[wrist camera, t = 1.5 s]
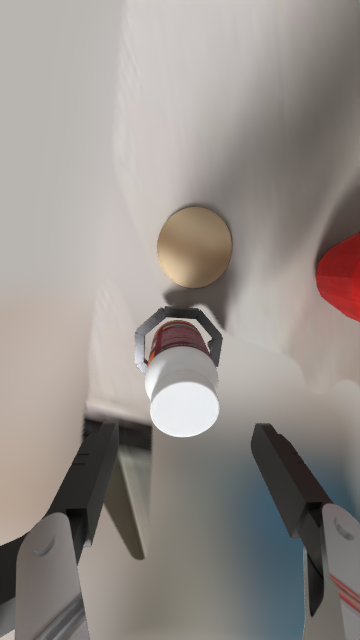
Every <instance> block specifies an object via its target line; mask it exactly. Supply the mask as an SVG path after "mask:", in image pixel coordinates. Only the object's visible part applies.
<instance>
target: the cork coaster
mask: <svg viewBox="0 0 360 640" xmlns="http://www.w3.org/2000/svg"><path fill="white" fill-rule="evenodd" d="M157 253H158V259H159V262H160V265H161V267H162V269H163V271H164V272H165V273H166V275H167V276H168V277H169V278H170V279H171V280H172V281H174V282H175V283H177V284H179V285H181V286H184V287H188V288H200V287H204V286H207V285H209V284H211V283H213V282H214V281H216V280H217V279H218V278H219V277H220V276H221V275H222V274H223V273H224V271H225V269H226V268H227V266H228V264H229V261H230V258H231V253H232V241H231V236H230V232H229V230H228V228H227V226H226V224H225V223H224V221H223V220H222V219H221V218H220V217H219V216H218V215H217V214H215V213H214V212H212V211H210V210H208V209H205V208H201V207H189V208H185V209H182V210H180V211H178V212H176V213H175V214H173V215H172V216H171V217H170V218H169V219H168V220H167V221H166V223H165V224H164V226H163V227H162V229H161V232H160V234H159V238H158V244H157Z"/></svg>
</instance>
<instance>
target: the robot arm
mask: <svg viewBox="0 0 360 640" xmlns="http://www.w3.org/2000/svg"><path fill="white" fill-rule="evenodd" d="M118 445H119V432H118V422H103V424H102V426H101V428H100V430H99V433H91V434H90V435H89V436H88V437H87V438H86V439H85V440H84V441H83V442H82V444H81V446H80V448H79V450H78V452H77V455H76V456H75V458H74V460H73V462H72V465H71V467H70V468H69V470H68V472H67V474H66V476H65V478H64V480H63V482H62V484H61V486H60V489H59V490H58V492H57V494H56V496H55V498H54V500H53V502H52V504H51V506H50V508H49V510H48V511H47V513H46V514H45V516H44V517H43V518H42V519H41V520H40V521H39V522H38V523H37V524H36V525H35V526H34V527H33V528H32V529H31V530H30V531H29V532H28V533H26V534H25V535H23V536H22V537H20V538H18V539H16V540H13V541H11V542H9V543H6V544H4V545H2V546H0V637H2V636H4V635H5V634H7V633H9V632H10V631H12V630H13V629H15V640H90V637H89V631H88V626H87V619H86V613H85V608H84V603H83V598H82V592H81V586H80V581H79V575H78V569H77V565H78V562H79V559H80V556H81V553H82V550H83V548H84V547H91V545H92V542H93V538H94V535H95V531H96V528H97V524H98V520H99V517H100V513H101V509H102V506H103V503H104V499H105V495H106V492H107V488H108V485H109V481H110V478H111V474H112V471H113V467H114V463H115V460H116V456H117V452H118ZM251 450H252V454H253V456H254V459H255V461H256V463H257V465H258V467H259V469H260V472H261V474H262V476H263V478H264V481H265V482H266V485H267V487H268V489H269V491H270V494H271V496H272V498H273V500H274V502H275V505H276V507H277V509H278V511H279V513H280V515H281V518H282V520H283V522H284V524H285V527H286V529H287V531H288V533H289V535H290V537H291V538H301V540H302V542H303V544H304V546H305V547H304V589H305V627H304V632H303V639H302V640H360V524H359V523H358V522H357V521H356V520H355V519H354V517H353V516H351V515H350V514H349V513H348V512H347V511H345V510H344V509H342V508H341V507H339V506H337V505H335V504H334V503H333V502H332V501H331V499H330V498H329V497H328V495H327V494H326V492H325V491H324V490H323V488H322V487H321V485H320V484H319V482H318V481H317V480H316V478H315V477H314V475H313V474H312V473H311V471H310V470H309V468H308V467H307V466H306V464H304V461H303V460H302V458H301V457H300V456H299V455H298V453H297V452H296V450H295V449H294V447H293V446H292V445H291V443H290V442H289V441H288V440H287V439H286V438H285V437H284V436H282V435H281V434H277V432H276V431H275V429H274V428H273V426H272V425H271V424H269V423H267V424H265V423H263V424H262V423H257V424H256V425H255V428H254V433H253V436H252V440H251Z"/></svg>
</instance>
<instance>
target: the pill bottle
mask: <svg viewBox="0 0 360 640" xmlns="http://www.w3.org/2000/svg"><path fill="white" fill-rule="evenodd" d="M217 386H218V374H217V370H216V367H215V364H214V362H213V360H212V358H211V356H210V354H209V352H208V349H207V347H206V345H205V343H204V340H203V338H202V336H201V334H200V333H199V331H198V330H197V328H195V326H194V325H192V324H190V323H189V322H186V321H182V320H174V321H170V322H167V323H165V324H163V325H162V326H161V327H160V328H159V329H158V330H157V332H156V333H155V335H154V338H153V343H152V347H151V352H150V356H149V361H148V365H147V370H146V375H145V388H146V392H147V394H148V396H149V398H150V399H151V405H150V414H151V418H152V421H153V422H154V424H155V425H156V427H157V428H159V429H160V430H161V431H162V432H164V433H166V434H168V435H171V436H175V437H190V436H194V435H197V434H200V433H202V432H203V431H205V430H207V429H208V428H209V427H210V426H211V425H212V424H213V423H214V422H215V420H216V418H217V416H218V413H219V400H218V397H217V394H216V390H217Z"/></svg>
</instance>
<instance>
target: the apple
mask: <svg viewBox="0 0 360 640" xmlns="http://www.w3.org/2000/svg"><path fill="white" fill-rule="evenodd" d="M316 281H317V288H318V290H319V292H320V295H321V297H323V298H324V299H325V300H326V301H327V302H329V303H330V304H331V305H333V306H334V307H335V308H337V309H338V310H339V311H341V312H342V313H343V314H345V315H346V316H347V317H350V318H352V319H354V320H356V321H359V322H360V232H359V233H357V234H355V235H353V236H351V237H349V238H347V239H345V240H343V241H341V242H340V243H338V244H337V245H335V246H334V247H332V248H331V249H329V250H328V251H327V252H326V254H325V255H324V256H323V258H322V259H321V260H320V262H319V265H318V269H317V272H316Z"/></svg>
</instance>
